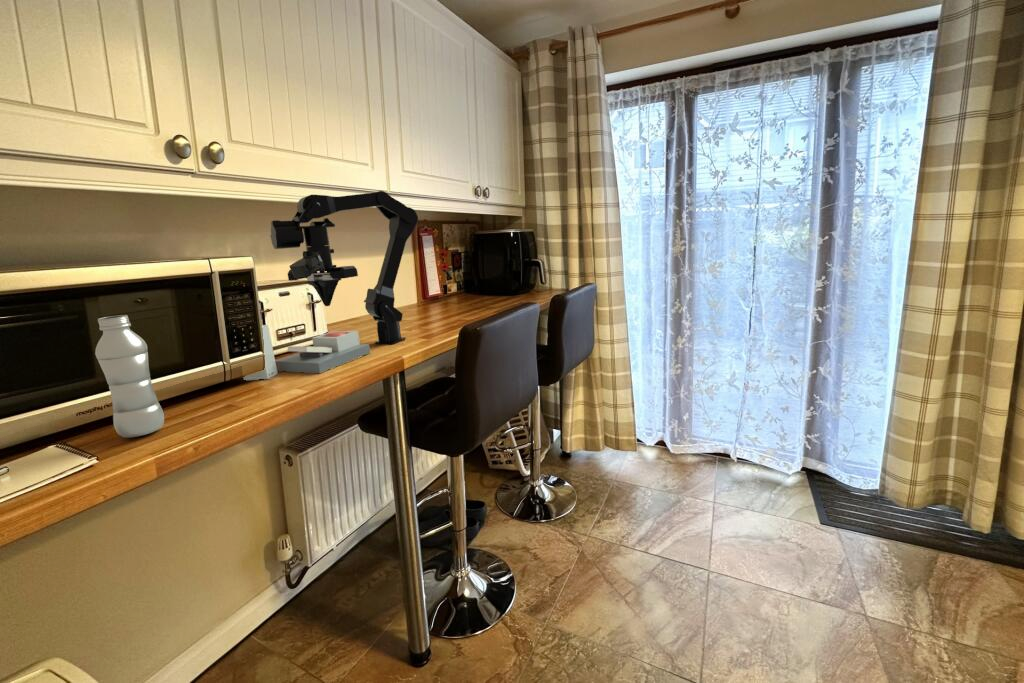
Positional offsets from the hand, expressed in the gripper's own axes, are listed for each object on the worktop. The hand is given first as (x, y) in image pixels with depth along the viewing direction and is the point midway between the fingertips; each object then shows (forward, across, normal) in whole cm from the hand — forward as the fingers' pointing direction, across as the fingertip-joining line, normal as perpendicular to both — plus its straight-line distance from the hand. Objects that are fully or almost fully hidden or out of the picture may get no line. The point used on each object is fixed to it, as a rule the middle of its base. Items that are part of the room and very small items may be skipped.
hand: (327, 306), depth 125 cm
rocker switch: (+9, +4, -12) cm, 15 cm away
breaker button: (+10, +4, -3) cm, 11 cm away
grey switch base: (+13, +4, -8) cm, 16 cm away
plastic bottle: (+13, +6, -52) cm, 54 cm away
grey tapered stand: (+13, -2, -22) cm, 26 cm away
